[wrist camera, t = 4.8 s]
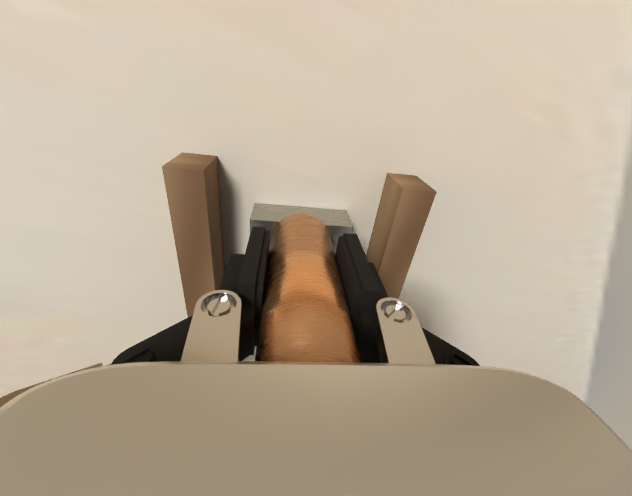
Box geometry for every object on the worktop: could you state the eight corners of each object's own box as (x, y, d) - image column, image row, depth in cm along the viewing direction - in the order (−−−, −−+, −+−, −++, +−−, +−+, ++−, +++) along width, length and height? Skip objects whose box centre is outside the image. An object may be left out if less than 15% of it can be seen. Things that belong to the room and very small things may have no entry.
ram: (365, 203, 15) (483, 404, 6) (342, 306, 19) (390, 524, 10) (235, 192, 14) (128, 407, 5) (239, 303, 18) (184, 538, 9)
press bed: (416, 175, 15) (525, 261, 8) (342, 414, 27) (359, 529, 20) (182, 152, 13) (63, 233, 6) (216, 416, 25) (188, 541, 18)
